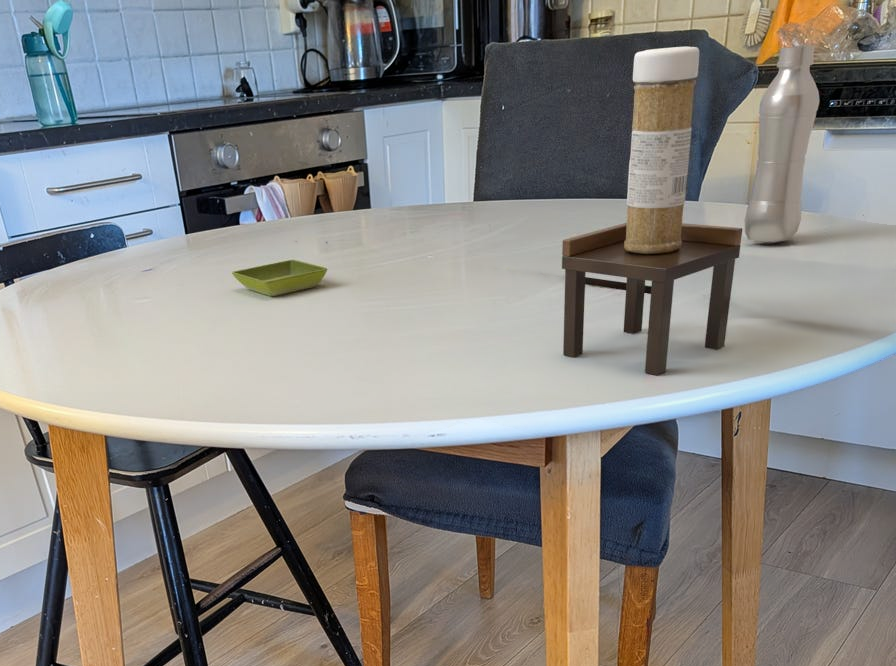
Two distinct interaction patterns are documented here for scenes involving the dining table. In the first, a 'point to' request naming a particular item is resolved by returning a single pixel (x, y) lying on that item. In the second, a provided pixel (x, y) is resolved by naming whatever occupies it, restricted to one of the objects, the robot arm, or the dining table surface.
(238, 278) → the green square tray
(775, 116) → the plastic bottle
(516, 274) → the dining table surface
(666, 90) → the sprinkles bottle
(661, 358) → the small brown wooden table
